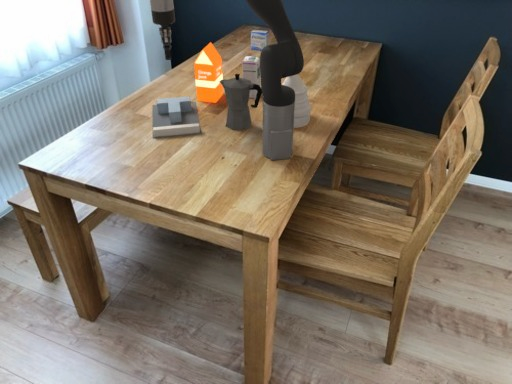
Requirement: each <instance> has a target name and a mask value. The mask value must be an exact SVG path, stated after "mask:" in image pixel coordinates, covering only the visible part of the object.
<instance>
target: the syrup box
mask: <svg viewBox="0 0 512 384" xmlns="http://www.w3.org/2000/svg"><path fill="white" fill-rule="evenodd" d="M241 69H242V70H241V71H242V78H245V79H248V80H250V81H251V83H254V84H258V85H259V86H260V87H261V75H260V56H256V55H255V56H254V55H246V56H245V57H244V58H243V59H242V60H241ZM256 94H257V90H250V94H249V99H256Z"/></svg>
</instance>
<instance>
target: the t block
mask: <svg viewBox="0 0 512 384" xmlns="http://www.w3.org/2000/svg"><path fill="white" fill-rule="evenodd" d="M191 102H192V101H191V96H189V95H188V96H178V97H177V96H176V97H167V98H165V97H164V98H156V105H157V109H158V114H164V113H169V118H170V123H176V122H182V119H181V112H187V111H192V109H191Z"/></svg>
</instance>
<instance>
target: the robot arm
mask: <svg viewBox="0 0 512 384" xmlns="http://www.w3.org/2000/svg"><path fill="white" fill-rule="evenodd" d="M245 2H246V4H247V5H248V7H249V8H250V9H251V10H252V11H253V13H254V14H255V15H257V17H258V18H260V19H261V20H262V21H263V22H264V24H266V25H267V27H268V28H269V29H270V30H271V32H272V33H273V36H274V39H275V41H276V43H273V44H269V45H268V46H265V47H264V48H263V49H262V51H261V50H260V51H261V52H260V55H259V57H260V87H261V90H262V154H263V156H265V157H266V158H268V159H270V161H277V160H278V161H279V160H287V159H292V158H291V157H292V155H293V147H294V145H293V144H294V129H295V128H294V110H295V91H294V90H293V89H292V88H290V87H288V86H285V85H282V84H283V83H282V79H286V78H287V77H290V76H293V75H297V74H298V75H299V74H300V73H302V71H303V69H304V67H305V66H304V65H305V64H304V63H305V59H304V54H303V50H302V47H301V45H300V42H299V41H298V37H297V35H296V33H295V31H294V29H293V27H292V24H291V22H290V20H289V17H288V14H287V12H286V9H285V6H284V4H283V1H282V0H245ZM149 3H150V4H149V5H150V11H151V18H152V23H153V24H154V25H158V26H160V27H158V28H159V29H158V32H159V36H160V40H161V44H162V48H163V50H164V57H165V61H172V59H173V57H172V45H171V43H172V28H171V26H169V25H173V24H174V23H175V22H176V16H175V15H176V13H175V6H174V0H149Z"/></svg>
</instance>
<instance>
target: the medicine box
mask: <svg viewBox="0 0 512 384" xmlns="http://www.w3.org/2000/svg"><path fill="white" fill-rule="evenodd" d="M269 33H270V31H269V30H264V29H263V30H261V29H260V30H259V29H253V30H251V31H250V50H252V51H262V49H263V48H264V47H265V46H268V45H270V44H269V42H270V41H269V38H270V34H269Z"/></svg>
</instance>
